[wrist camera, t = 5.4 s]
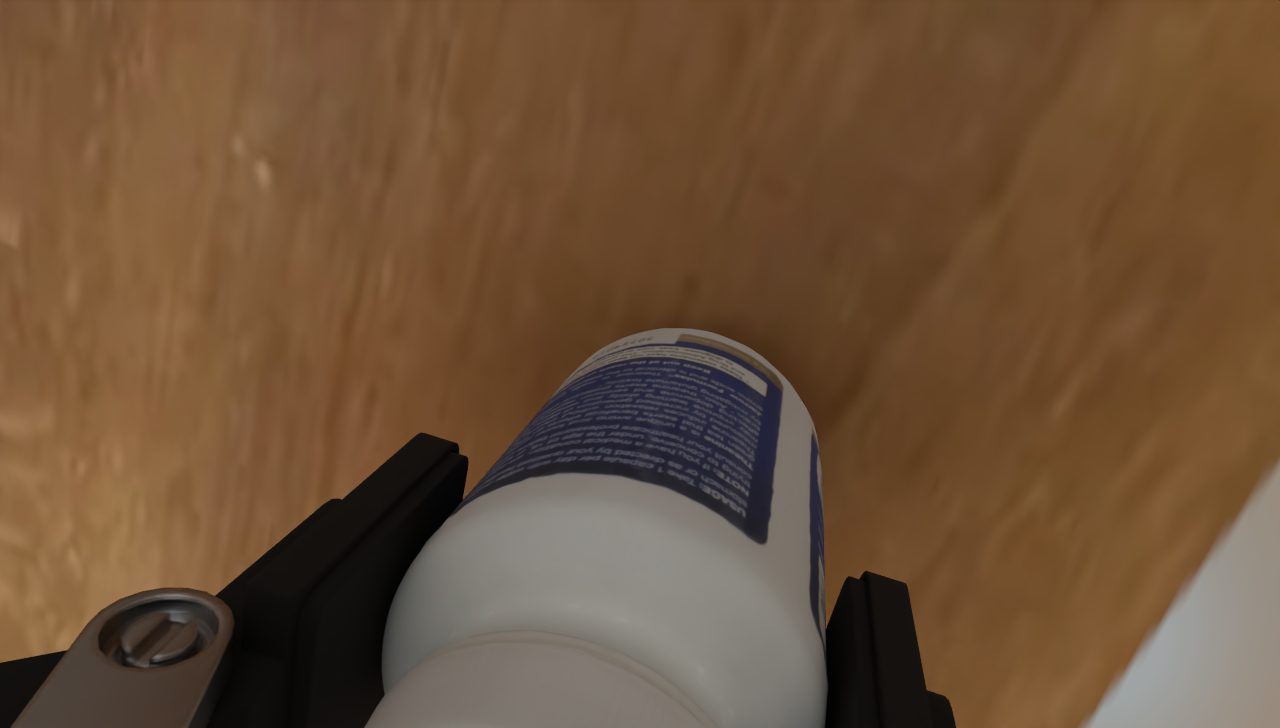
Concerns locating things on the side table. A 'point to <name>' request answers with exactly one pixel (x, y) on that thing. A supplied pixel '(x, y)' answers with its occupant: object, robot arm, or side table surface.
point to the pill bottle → (628, 558)
